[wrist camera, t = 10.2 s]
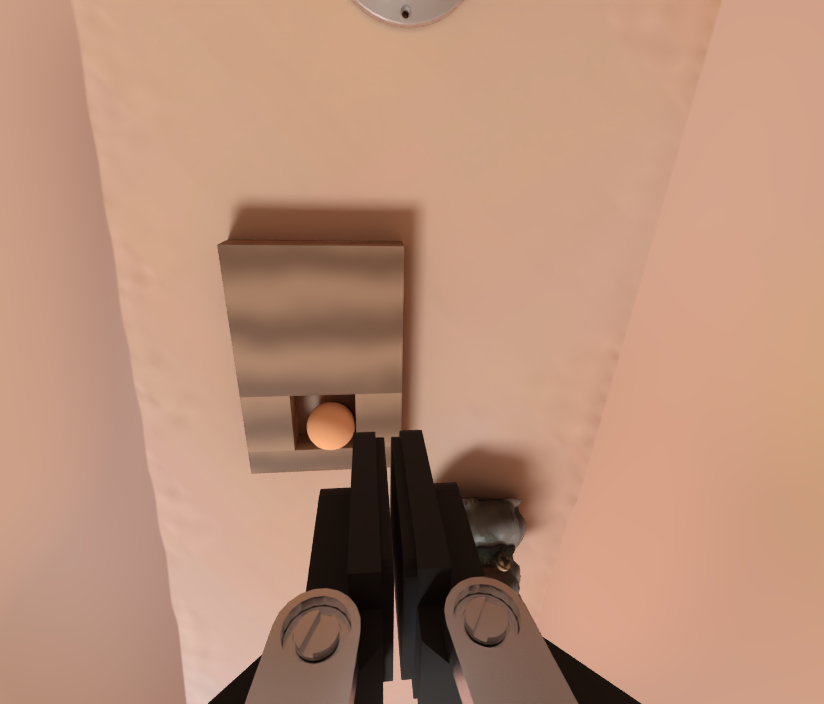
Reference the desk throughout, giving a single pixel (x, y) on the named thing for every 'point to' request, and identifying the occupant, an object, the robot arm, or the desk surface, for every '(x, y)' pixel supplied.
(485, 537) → the lucky cat figurine
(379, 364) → the board
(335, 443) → the ball
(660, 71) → the desk surface
